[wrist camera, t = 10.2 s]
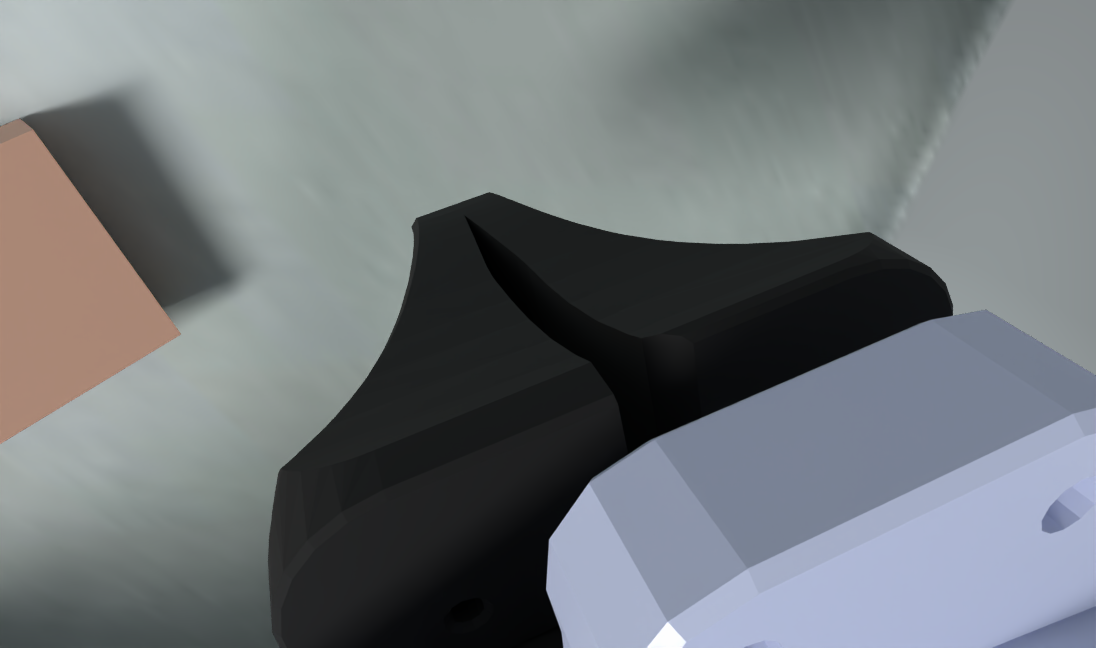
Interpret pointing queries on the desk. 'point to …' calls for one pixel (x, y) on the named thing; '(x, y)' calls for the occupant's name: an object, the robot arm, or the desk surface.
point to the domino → (61, 290)
